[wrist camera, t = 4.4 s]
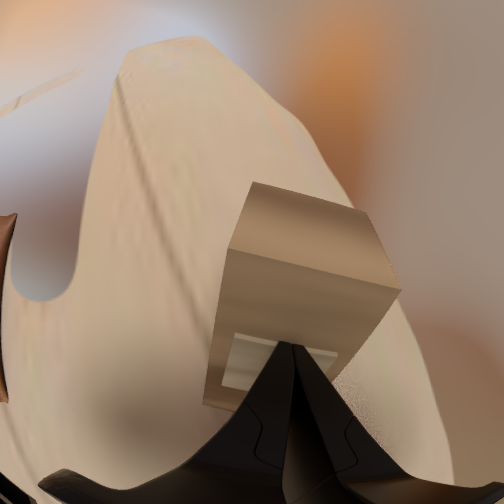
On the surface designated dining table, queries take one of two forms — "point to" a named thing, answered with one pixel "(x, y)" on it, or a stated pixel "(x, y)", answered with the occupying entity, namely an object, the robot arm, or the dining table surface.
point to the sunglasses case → (3, 230)
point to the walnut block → (295, 288)
